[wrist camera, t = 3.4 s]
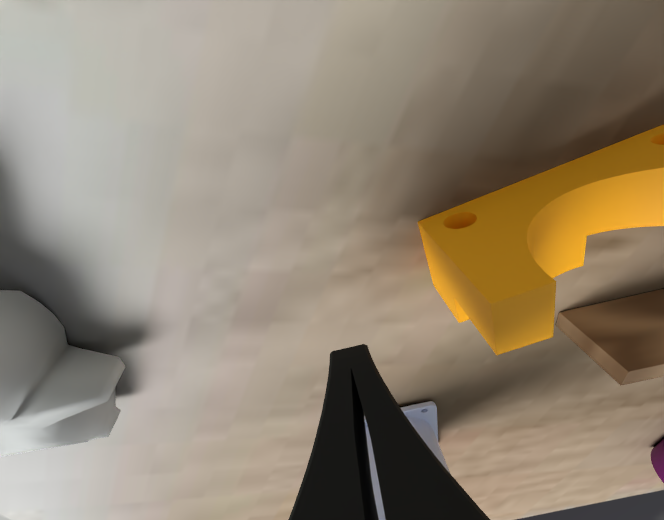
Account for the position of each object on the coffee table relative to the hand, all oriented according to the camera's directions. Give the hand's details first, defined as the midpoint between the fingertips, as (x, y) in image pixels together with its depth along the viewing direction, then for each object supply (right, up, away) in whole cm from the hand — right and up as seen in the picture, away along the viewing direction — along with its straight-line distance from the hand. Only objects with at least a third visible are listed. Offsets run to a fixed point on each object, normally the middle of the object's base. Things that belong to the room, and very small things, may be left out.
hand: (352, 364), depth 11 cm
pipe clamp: (+10, +7, +4) cm, 12 cm away
